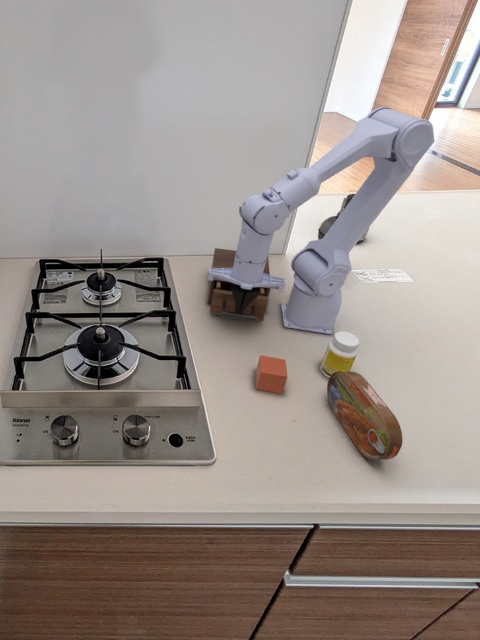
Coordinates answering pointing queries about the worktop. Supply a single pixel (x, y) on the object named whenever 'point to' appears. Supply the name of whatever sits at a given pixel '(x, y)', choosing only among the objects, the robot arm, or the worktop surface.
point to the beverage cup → (329, 223)
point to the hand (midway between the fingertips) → (237, 312)
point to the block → (271, 374)
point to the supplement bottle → (340, 353)
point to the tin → (364, 416)
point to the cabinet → (226, 260)
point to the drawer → (226, 304)
